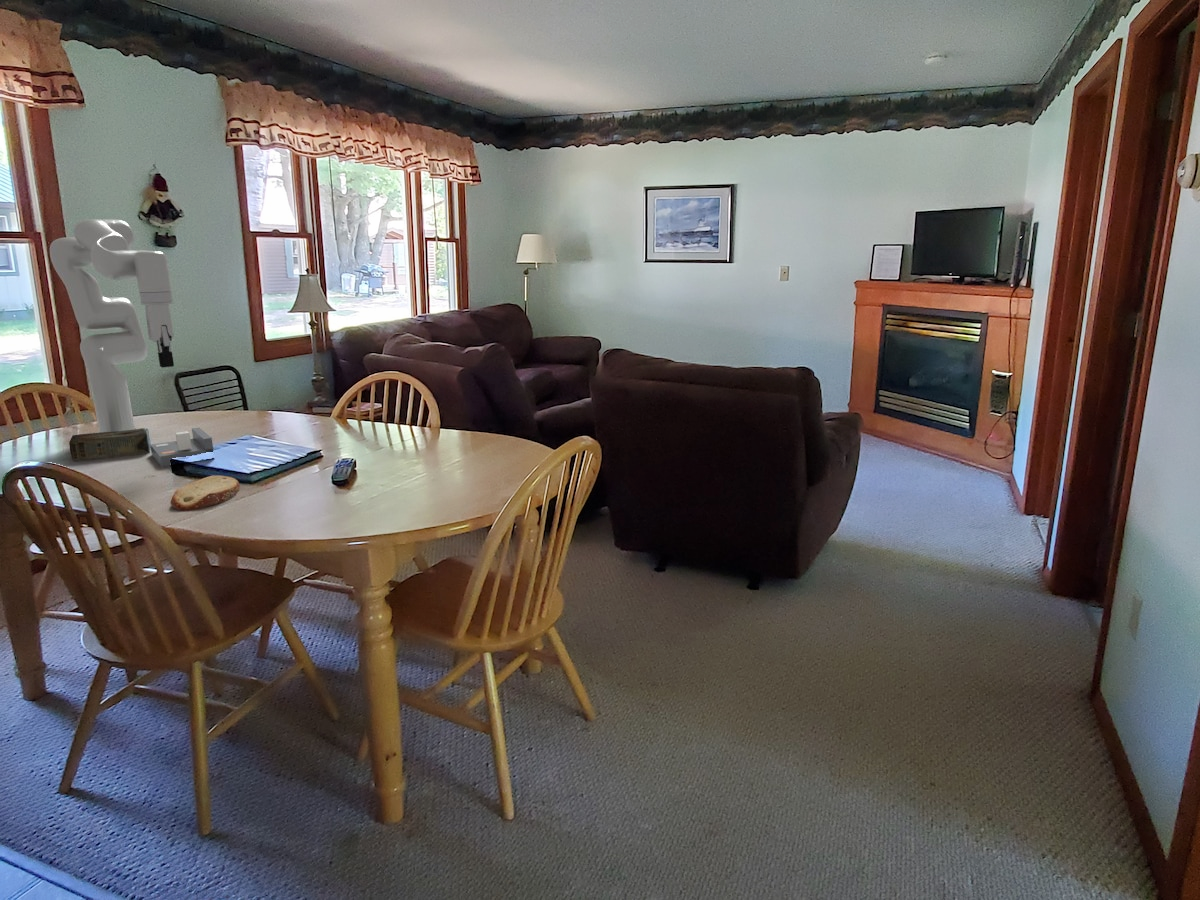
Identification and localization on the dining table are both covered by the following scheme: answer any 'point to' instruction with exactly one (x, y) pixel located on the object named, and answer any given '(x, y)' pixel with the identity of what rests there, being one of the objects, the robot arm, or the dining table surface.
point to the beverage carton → (109, 444)
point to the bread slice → (205, 493)
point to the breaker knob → (183, 440)
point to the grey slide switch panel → (170, 450)
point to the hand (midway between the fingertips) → (167, 366)
